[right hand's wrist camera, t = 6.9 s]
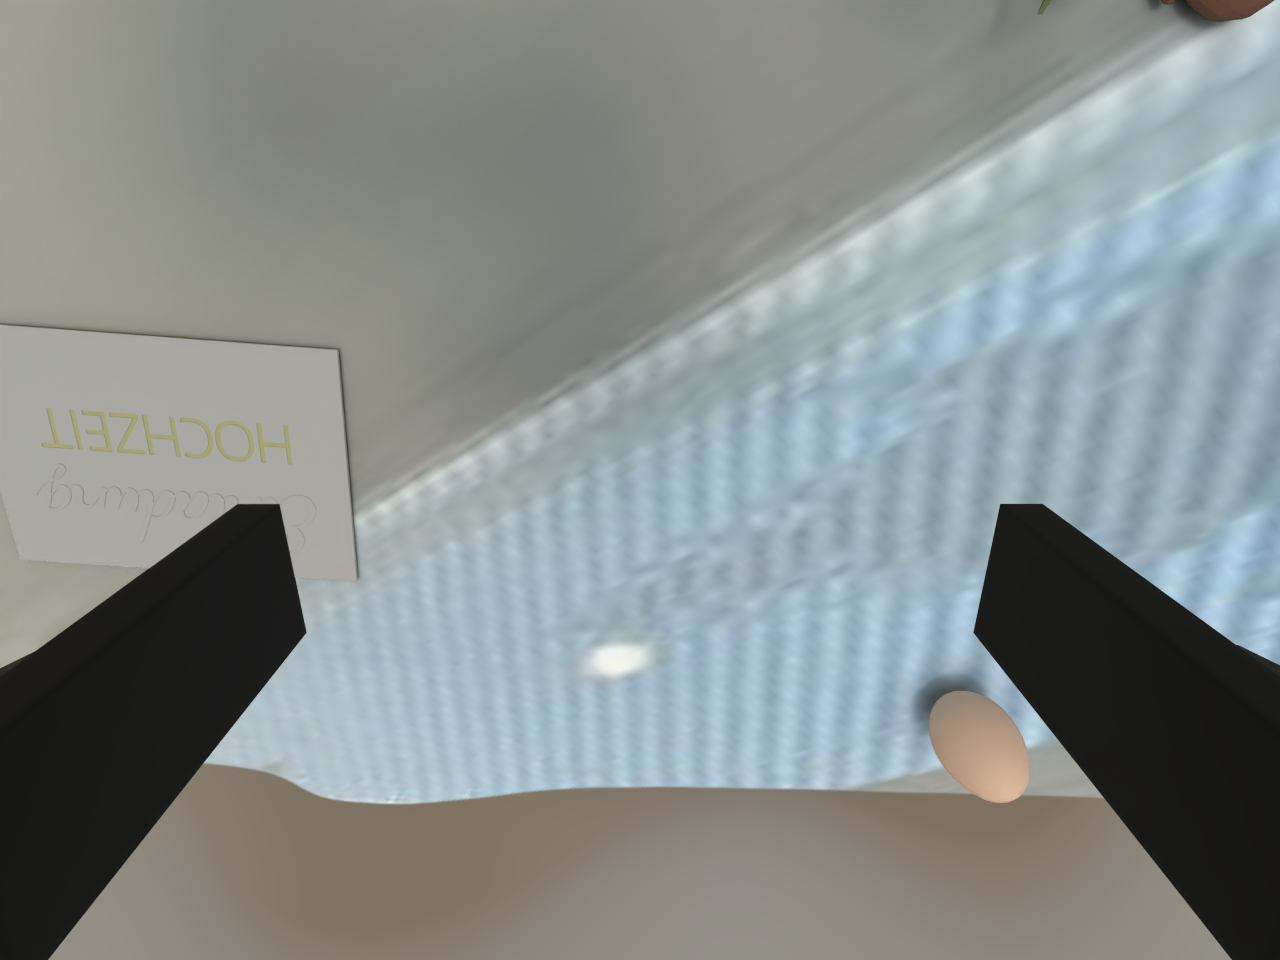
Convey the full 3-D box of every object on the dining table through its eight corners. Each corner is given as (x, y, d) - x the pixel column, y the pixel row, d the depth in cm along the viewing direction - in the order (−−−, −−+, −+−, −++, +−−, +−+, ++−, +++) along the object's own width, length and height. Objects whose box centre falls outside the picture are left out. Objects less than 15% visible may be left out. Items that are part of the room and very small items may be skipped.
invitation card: (336, 350, 39) (356, 582, 44) (338, 349, 39) (358, 580, 45) (-50, 321, 38) (18, 560, 44) (-45, 320, 38) (22, 558, 44)
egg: (927, 741, 49) (980, 839, 42) (902, 688, 48) (952, 780, 40) (998, 714, 48) (1066, 808, 41) (975, 659, 47) (1041, 746, 39)
